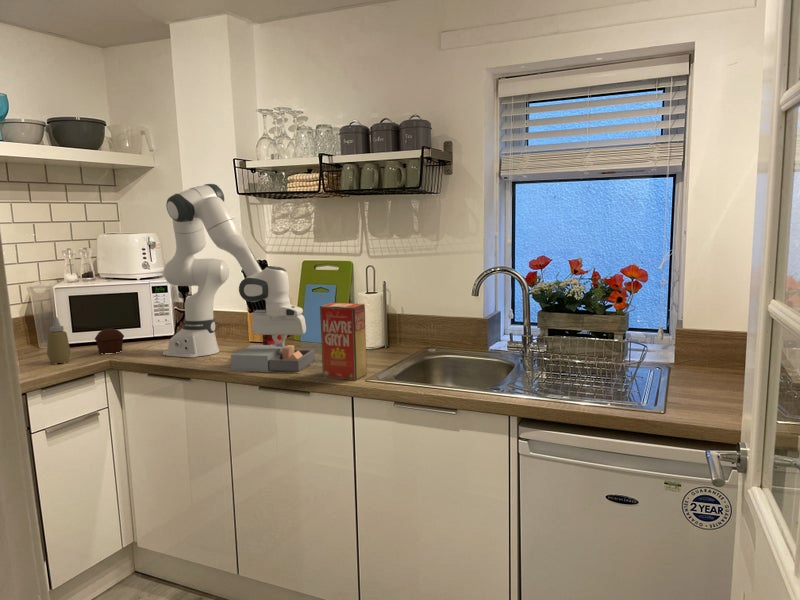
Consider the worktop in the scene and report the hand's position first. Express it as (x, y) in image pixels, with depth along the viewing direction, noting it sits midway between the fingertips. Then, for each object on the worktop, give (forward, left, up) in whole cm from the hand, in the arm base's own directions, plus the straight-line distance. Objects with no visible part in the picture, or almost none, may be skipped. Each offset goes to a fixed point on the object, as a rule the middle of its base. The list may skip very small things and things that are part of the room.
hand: (279, 346), depth 231 cm
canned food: (-13, +24, -7) cm, 28 cm away
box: (+6, -3, -7) cm, 10 cm away
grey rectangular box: (-7, -3, -7) cm, 10 cm away
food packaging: (+29, -14, -7) cm, 33 cm away
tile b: (+2, 0, -3) cm, 4 cm away
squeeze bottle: (-89, -7, -7) cm, 90 cm away
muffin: (-81, +13, -7) cm, 82 cm away
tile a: (+7, -8, -2) cm, 10 cm away
